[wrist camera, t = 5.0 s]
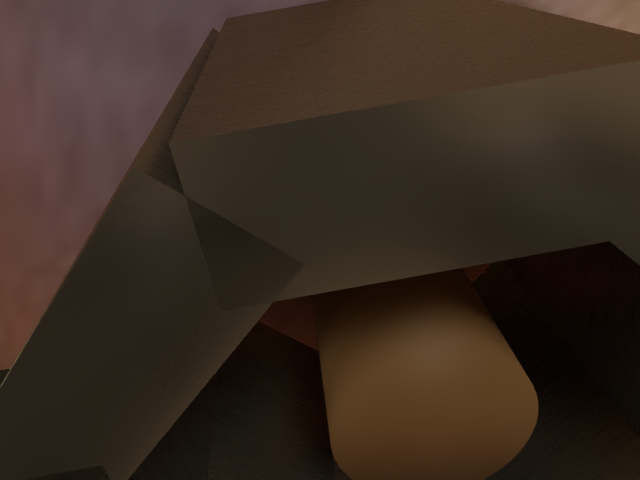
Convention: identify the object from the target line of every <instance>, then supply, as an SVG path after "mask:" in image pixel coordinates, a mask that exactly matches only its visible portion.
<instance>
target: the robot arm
mask: <svg viewBox="0 0 640 480" xmlns="http://www.w3.org/2000/svg"><path fill="white" fill-rule="evenodd" d="M9 371H10V369H6V370H0V386H1V384H2V383H3V381H4V379H5V377H6V376H7V374H8V372H9Z"/></svg>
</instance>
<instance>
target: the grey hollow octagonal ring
mask: <svg viewBox="0 0 640 480" xmlns="http://www.w3.org/2000/svg"><path fill="white" fill-rule="evenodd" d="M492 262H493V263H492ZM486 263H492V264H491V265H490V266H489V267H488V268H487V269H486V270H485V271H484V272H483V273H482V274H481V275H480V276H479V277H478V278H477V279H476V280H475V281H474V282H473V283H472V285H473V287H474V289H475V290H476V292H477V294H478V295H479V297H480V298H481V300H482V302H483V303H484V305H485V307H486V308H487V310H488V312H489V313H490V315H491V317H492V318H493V320H494V322H495V323H496V325H497V327H498V328H499V330H500V331H501V333H502V335H503V336H504V338H505V340H506V341H507V343H508V345H509V346H510V348H511V350H512V351H513V353H514V355H515V356H516V358H517V360H518V361H519V363H520V364H521V366H522V368H523V369H524V371H525V373H526V374H527V376H528V378H529V379H530V381H531V383H532V384H533V386H534V389H535V391H536V394H537V399H538V417H537V422H536V425H535V428H534V430H533V432H532V434H531V436H530V438H529V440H528V441H527V443H526V444H525V445H524V447H523V448H522V450H521V451H520V452H519V453H518V454H517V455H516V456H515V457H514V458H513V459H512V460H511V461H510V462H508V463H507V464H506V465H505V466H504V467H502V468H501V469H499V470H498V471H497V472H495V473H493V474H492V475H490V476H488V477H487V478H485V479H483V480H640V34H635V33H631V32H627V31H623V30H619V29H615V28H610V27H606V26H602V25H598V24H594V23H590V22H585V21H581V20H577V19H573V18H569V17H565V16H560V15H556V14H552V13H548V12H544V11H540V10H535V9H531V8H527V7H523V6H519V5H515V4H510V3H506V2H502V1H498V0H328V1H322V2H317V3H311V4H305V5H299V6H294V7H288V8H282V9H276V10H271V11H265V12H259V13H254V14H248V15H242V16H236V17H231V18H227V19H226V21H225V23H224V25H223V27H222V29H221V32H218V31H217V30H215V29H214V28H212V30H211V32H210V33H209V35H208V37H207V39H206V40H205V42H204V44H203V45H202V47H201V49H200V50H199V52H198V54H197V55H196V57H195V59H194V60H193V62H192V64H191V65H190V67H189V69H188V70H187V72H186V74H185V75H184V77H183V79H182V80H181V82H180V84H179V85H178V87H177V89H176V90H175V92H174V94H173V95H172V97H171V99H170V100H169V102H168V104H167V105H166V107H165V109H164V110H163V112H162V114H161V116H160V117H159V119H158V121H157V122H156V124H155V126H154V127H153V129H152V131H151V132H150V134H149V136H148V137H147V139H146V141H145V142H144V144H143V146H142V147H141V149H140V151H139V152H138V154H137V156H136V157H135V159H134V161H133V162H132V164H131V166H130V167H129V169H128V171H127V172H126V174H125V176H124V177H123V179H122V181H121V182H120V184H119V186H118V188H117V189H116V191H115V193H114V194H113V196H112V198H111V199H110V201H109V203H108V205H107V206H106V208H105V210H104V211H103V213H102V215H101V216H100V218H99V220H98V221H97V223H96V225H95V227H94V228H93V230H92V232H91V233H90V235H89V237H88V238H87V240H86V242H85V244H84V245H83V247H82V249H81V250H80V252H79V254H78V255H77V257H76V259H75V260H74V262H73V264H72V266H71V267H70V269H69V271H68V272H67V274H66V276H65V277H64V279H63V281H62V283H61V284H60V286H59V288H58V289H57V291H56V293H55V294H54V296H53V298H52V299H51V301H50V303H49V305H48V306H47V308H46V310H45V311H44V313H43V315H42V316H41V318H40V320H39V322H38V323H37V325H36V327H35V328H34V330H33V332H32V333H31V335H30V337H29V338H28V340H27V342H26V344H25V345H24V347H23V349H22V350H21V352H20V354H19V355H18V357H17V359H16V361H15V362H14V364H13V366H12V367H11V369H10V371H9V372H8V374H7V376H6V377H5V379H4V381H3V383H2V384H1V386H0V480H352V479H351V478H350V477H349V476H348V475H347V474H345V473H344V472H343V470H342V469H341V468H340V467H339V465H338V464H337V462H336V460H335V458H334V456H333V453H332V449H331V443H330V435H329V427H328V419H327V411H326V403H325V395H324V387H323V379H322V371H321V363H320V355H319V351H316V350H314V349H312V348H310V347H308V346H306V345H304V344H302V343H300V342H298V341H296V340H294V339H292V338H290V337H288V336H286V335H284V334H282V333H280V332H278V331H276V330H274V329H272V328H270V327H268V326H266V325H264V324H262V323H260V322H258V320H259V319H260V318H261V317H262V315H263V314H264V313H265V312H266V311H267V309H268V308H269V307H270V306H271V304H272V303H273V302H275V301H281V300H286V299H292V298H297V297H303V296H309V295H314V294H320V293H325V292H331V291H336V290H342V289H347V288H353V287H358V286H364V285H370V284H375V283H381V282H386V281H392V280H397V279H403V278H408V277H414V276H419V275H425V274H431V273H436V272H442V271H447V270H453V269H458V268H464V267H469V266H475V265H480V264H486Z"/></svg>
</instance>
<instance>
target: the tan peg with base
mask: <svg viewBox="0 0 640 480" xmlns="http://www.w3.org/2000/svg"><path fill="white" fill-rule="evenodd" d="M312 299H313V307H314V315H315V323H316V331H317V339H318V347H319V355H320V363H321V371H322V379H323V387H324V395H325V403H326V411H327V419H328V427H329V435H330V443H331V449H332V453H333V456H334V458H335V460H336V462H337V464H338V465H339V467H340V468H341V469H342V470H343V472H344V473H345V474H347V475H348V476H349V477H350V478H351V479H352V480H483V479H485V478H487V477H488V476H490V475H492V474H493V473H495V472H497V471H498V470H499V469H501V468H502V467H504V466H505V465H506V464H507V463H508V462H510V461H511V460H512V459H513V458H514V457H515V456H516V455H517V454H518V453H519V452H520V451H521V450H522V448H523V447H524V445H525V444H526V443H527V441H528V440H529V438H530V436H531V434H532V432H533V430H534V428H535V425H536V422H537V417H538V399H537V394H536V391H535V389H534V386H533V384H532V383H531V381H530V379H529V378H528V376H527V374H526V373H525V371H524V369H523V368H522V366H521V364H520V363H519V361H518V360H517V358H516V356H515V355H514V353H513V351H512V350H511V348H510V346H509V345H508V343H507V341H506V340H505V338H504V336H503V335H502V333H501V331H500V330H499V328H498V327H497V325H496V323H495V322H494V320H493V318H492V317H491V315H490V313H489V312H488V310H487V308H486V307H485V305H484V303H483V302H482V300H481V298H480V297H479V295H478V294H477V292H476V290H475V289H474V287H473V285H472V284H471V282H470V280H469V279H468V277H467V275H466V274H465V272H464V270H463V269H462V268H458V269H453V270H447V271H442V272H436V273H431V274H425V275H419V276H414V277H408V278H403V279H397V280H392V281H386V282H381V283H375V284H370V285H364V286H358V287H353V288H347V289H342V290H336V291H331V292H325V293H320V294H314V295H312Z"/></svg>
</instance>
